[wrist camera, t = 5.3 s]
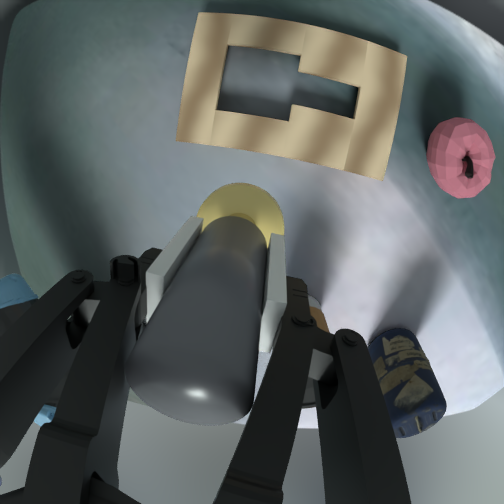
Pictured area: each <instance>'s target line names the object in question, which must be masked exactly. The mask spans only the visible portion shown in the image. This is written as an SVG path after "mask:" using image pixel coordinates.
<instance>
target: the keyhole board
mask: <svg viewBox="0 0 504 504" xmlns="http://www.w3.org/2000/svg"><path fill="white" fill-rule="evenodd" d="M228 45H230V46H240V47H249V48H257V49H264V50H271V51H277V52H283V53H288V54H293V55H298V56H301V57H300V63H299V68H298V72H302V73H306V74H311V75H315V76H319V77H323V78H327V79H331V80H335V81H339V82H342V83H346V84H349V85H353V86H356V87H359V89H358V95H357V100H356V106H355V111H354V116H353V119H351V118H347V117H344V116H340V115H336V114H333V113H329V112H325V111H321V110H316V109H312V108H308V107H303V106H299V105H294V104H292V106H291V112H290V117H289V121H283V120H278V119H273V118H267V117H261V116H255V115H249V114H242V113H235V112H227V111H219V110H217V105H218V99H219V93H220V88H221V82H222V76H223V71H224V66H225V61H226V55H227V50H228ZM406 61H407V56H406V55H403V54H401V53H398V52H396V51H394V50H391V49H388V48H386V47H383V46H380V45H378V44H375V43H372V42H369V41H366V40H363V39H360V38H357V37H354V36H351V35H347V34H344V33H340V32H337V31H333V30H329V29H325V28H321V27H317V26H312V25H308V24H303V23H298V22H293V21H287V20H281V19H275V18H268V17H260V16H252V15H241V14H228V13H201V12H199V13H198V18H197V22H196V26H195V31H194V35H193V40H192V44H191V49H190V54H189V59H188V64H187V70H186V75H185V81H184V87H183V93H182V99H181V106H180V113H179V120H178V127H177V135H176V141H179V142H189V143H198V144H206V145H213V146H221V147H228V148H235V149H241V150H247V151H253V152H259V153H265V154H270V155H276V156H281V157H286V158H291V159H296V160H301V161H305V162H310V163H314V164H319V165H323V166H327V167H332V168H336V169H340V170H344V171H348V172H352V173H355V174H359V175H363V176H366V177H370V178H374V179H377V180H381V181H383V179H384V175H385V171H386V167H387V163H388V159H389V155H390V150H391V146H392V142H393V137H394V132H395V127H396V123H397V117H398V112H399V107H400V101H401V95H402V89H403V83H404V76H405V69H406Z"/></svg>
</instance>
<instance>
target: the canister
mask: <svg viewBox="0 0 504 504" xmlns="http://www.w3.org/2000/svg"><path fill="white" fill-rule="evenodd" d="M368 351H369V354H370V357H371V360H372V363H373V365H374V368H375V371H376V374H377V377H378V380H379V384H380V387H381V390H382V393H383V396H384V399H385V403H386V406H387V409H388V413H389V416H390V419H391V423H392V426H393V430H394V433H395V437H396V438H406V437H410V436H413V435H416V434H419V433H421V432H423V431H425V430H427V429H428V428H430V427H432V426H433V425H435V424H436V423H437V422H438V421H439V420H440V419H441V418H442V417H443V415H444V414H445V411H446V407H447V405H446V401H445V398H444V396H443V393H442V391H441V388H440V386H439V384H438V382H437V379H436V377H435V375H434V372H433V370H432V368H431V366H430V362H429V360H428V359H427V357H426V356H425V353H424V351H423V350H422V348H421V346H420V344H419V342H418V340H417V338H416V336H415V335H414V334H413V333H412V332H411V331H409V330H407V329H401V328H399V329H392V330H389V331H387V332H385V333H383V334H381V335H380V336H378V337H377V338H376V339H375V340H374V341H373V342H372V343H371V345H370V346H369V348H368Z"/></svg>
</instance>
